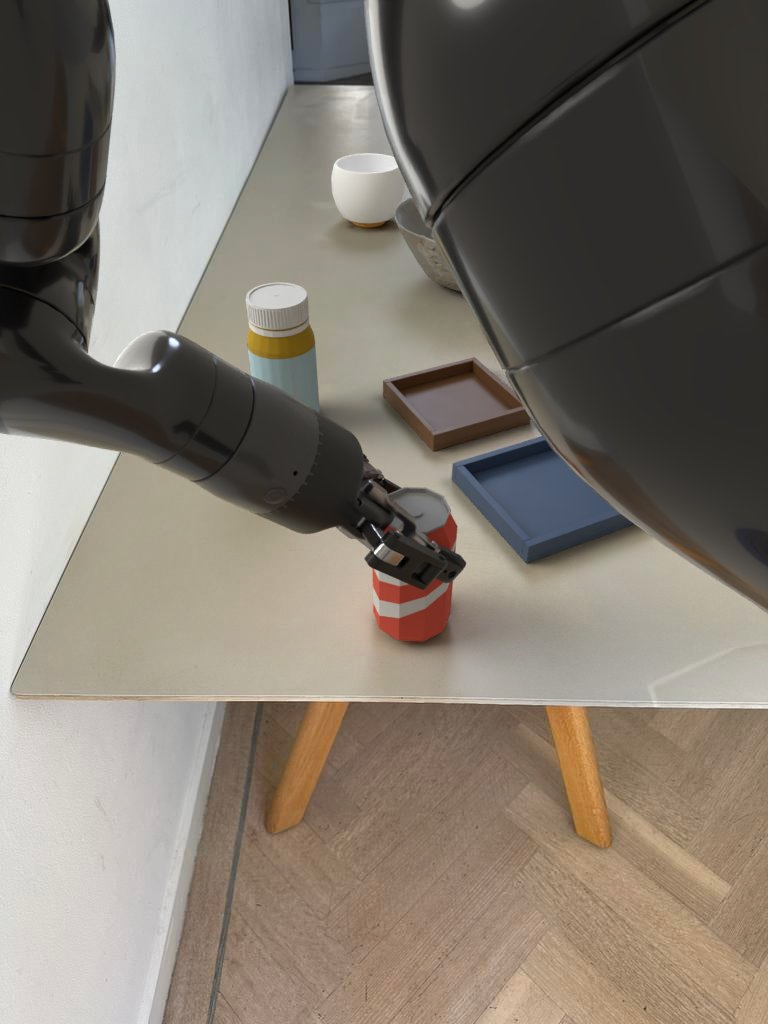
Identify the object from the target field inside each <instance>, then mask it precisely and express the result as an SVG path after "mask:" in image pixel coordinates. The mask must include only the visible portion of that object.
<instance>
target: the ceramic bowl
mask: <svg viewBox="0 0 768 1024" xmlns="http://www.w3.org/2000/svg"><path fill="white" fill-rule="evenodd" d="M394 220H395V222H396V225H397V228H398V229H399V232H400V234H401V236H402V237H403V239H404V241H405V243H406V245H407V247H408V248H409V250H410V252H411V253H412V255H413V257H414V259H415V260H416V262H417V263H418V265H419V266H420V268H421V269H422V270H423V272H424V273H425V275H426V276H427V277H428V278H429V279H430V280H431V281H433V282H434V283H435V284H437V285H440V286H442V287H444V288H448V289H450V290H454V291H455V292H459V293H462V292H461V290H460V288H459V286H458V285H457V283H456V281H455V279H454V277H453V275H452V273H451V271H450V270H449V268H448V266H447V264H446V262H445V260H444V258H443V256H442V254H441V253H440V251H439V249H438V247H437V245H436V243H435V241H434V239H433V238H432V236H431V233H432V229H430V228H428V227H426V225H425V224H424V221H423V219H422V217H421V215H420V213H419V211H418V209H417V207H416V205H415V203H414V201H413V199H412V197H409V198H407V199H406V200H404V201H402V202H401V204H400V205H399V206H398V208H397V210H396V212H395V215H394Z"/></svg>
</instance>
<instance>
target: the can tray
mask: <svg viewBox="0 0 768 1024" xmlns="http://www.w3.org/2000/svg"><path fill="white" fill-rule="evenodd" d="M451 467H452V470H451V480H452V481H453V483H454V484H455V485H456V486H457V487H458V489H460V491H461V492H462V493H463V494H464V496H466V498H468V499H469V501H470V502H471V503H472V504H473V505H474V506H475V508H476V509H477V510H478V511H479V512H480V513H481V515H483V517H484V518H485V519H486V520H487V521H488V523H490V525H492V527H493V528H494V529H495V530H496V531H497V533H499V535H500V536H501V537H502V538H503V539H504V540H505V542H507V544H508V545H509V546H510V547H511V548H512V549H513V551H515V553H516V554H517V555H518V556H519V557H520V558H521V560H522V561H523V562H524V563H525V564H529V563H532V562H534V561H537V560H540V559H543V558H545V557H548V556H550V555H555V554H556V553H560V552H562V551H565V550H568V549H570V548H573V547H575V546H578V545H581V544H583V543H586V542H589V541H592V540H594V539H597V538H600V537H603V536H606V535H608V534H611V533H613V532H617V531H619V530H622V529H624V528H627V527H630V526H633V525H635V524H634V523H633V522H631V521H630V520H628V519H627V518H626V517H624V516H623V515H622V514H620V513H619V512H618V511H616V510H615V509H614V508H613V507H612V506H610V505H609V504H608V503H607V502H605V501H604V500H603V499H602V498H601V497H599V496H598V495H597V494H596V493H595V492H594V491H593V490H591V489H590V488H589V487H588V486H587V485H586V484H585V483H584V482H583V481H582V480H581V479H580V478H579V477H577V476H576V475H575V474H574V473H573V472H572V471H571V470H570V468H569V467H568V466H567V465H566V464H565V463H564V462H563V461H562V460H561V459H560V458H559V456H558V455H557V454H556V453H555V452H554V451H553V450H552V448H551V447H550V446H549V444H548V443H547V442H546V440H545V439H544V437H543V436H542V435H541V436H538V437H534V438H531V439H527V440H524V441H521V442H518V443H515V444H511V445H507V446H503V447H501V448H498V449H495V450H492V451H488V452H485V453H482V454H478V455H474V456H472V457H469V458H465V459H461V460H458V461H456V462H455V461H454V462H452V466H451Z"/></svg>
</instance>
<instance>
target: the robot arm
mask: <svg viewBox="0 0 768 1024" xmlns="http://www.w3.org/2000/svg"><path fill="white" fill-rule="evenodd" d="M362 1H363V3H362V4H363V15H364V29H365V37H366V43H367V52H368V61H369V67H370V71H371V78H372V83H373V89H374V94H375V100H376V103H377V107H378V111H379V115H380V119H381V123H382V126H383V130H384V133H385V136H386V138H387V141H388V144H389V147H390V149H391V152H392V156H393V157H394V158H395V160H396V163H397V165H398V168H399V170H400V172H401V174H402V176H403V179H404V181H405V185H406V188H407V190H408V193H409V194H410V196H411V198H412V199H413V201H414V203H415V205H416V207H417V209H418V211H419V213H420V215H421V217H422V219H423V221H424V224H425V225H426V227H428V228H430V229H432V233H431V236H432V238H433V239H434V241H435V243H436V245H437V247H438V249H439V251H440V253H441V254H442V256H443V258H444V260H445V262H446V264H447V266H448V268H449V270H450V271H451V273H452V275H453V277H454V279H455V281H456V283H457V285H458V286H459V288H460V290H461V292H460V293H461V294H462V296H463V297H464V300H465V301H466V304H467V305H468V308H469V309H470V311H471V313H472V315H473V317H474V318H475V320H476V322H477V324H478V326H479V328H480V330H481V331H482V333H483V335H484V337H485V339H486V341H487V343H488V345H489V347H490V348H491V350H492V352H493V354H494V356H495V358H496V360H497V362H498V363H499V365H500V368H501V369H502V370H504V374H505V378H506V380H507V381H508V383H509V385H510V388H511V389H512V390H513V391H514V392H515V394H516V395H517V397H518V399H519V401H520V402H521V404H522V405H523V407H524V409H525V410H526V412H527V414H528V415H529V417H530V421H531V422H532V423H533V425H534V427H535V428H536V429H537V431H538V433H540V435H541V436H543V437H544V439H545V440H546V442H547V443H548V444H549V446H550V447H551V448H552V450H553V451H554V452H555V453H556V454H557V455H558V456H559V458H560V459H561V460H562V461H563V462H564V463H565V464H566V465H567V466H568V467H569V468H570V470H571V471H572V472H573V473H574V474H575V475H576V476H577V477H579V478H580V479H581V480H582V481H583V482H584V483H585V484H586V485H587V486H588V487H589V488H590V489H591V490H593V491H594V492H595V493H596V494H597V495H598V496H599V497H601V498H602V499H603V500H604V501H605V502H607V503H608V504H609V505H610V506H612V507H613V508H614V509H615V510H616V511H618V512H619V513H620V514H622V515H623V516H624V517H626V518H627V519H628V520H630V521H631V522H633V523H634V524H633V525H635V526H637V527H638V528H639V529H641V530H642V531H643V532H645V533H646V534H648V535H649V536H650V537H652V538H653V539H655V540H656V541H657V542H658V543H659V544H661V545H663V546H664V547H666V548H667V549H669V550H670V551H672V552H673V553H674V554H676V555H678V556H679V557H680V558H682V559H684V561H685V560H686V561H687V562H688V563H690V564H691V565H693V566H694V567H695V568H697V569H699V570H701V571H702V572H703V573H705V574H706V575H709V576H710V577H711V578H713V579H714V580H715V581H718V582H719V583H720V584H722V585H724V586H726V587H727V588H728V589H730V590H731V591H733V592H734V593H737V594H738V595H740V596H741V597H742V598H744V599H745V600H748V601H749V602H750V603H752V604H753V605H754V606H756V607H757V608H759V609H760V610H761V611H763V612H764V613H765V614H767V615H768V0H362ZM116 50H117V49H116V38H115V29H114V24H113V19H112V13H111V7H110V1H109V0H0V434H1V435H6V436H13V437H21V438H27V439H28V438H29V439H36V440H43V441H44V440H45V441H52V442H60V443H66V444H71V445H77V446H83V447H87V448H93V449H99V450H105V451H110V452H111V451H112V452H118V453H122V454H127V455H130V456H133V457H136V458H138V459H140V460H143V461H145V462H146V463H149V464H151V465H153V466H156V467H158V468H160V469H162V470H165V471H167V472H169V473H171V474H174V475H176V476H178V477H180V478H183V479H184V480H187V481H190V482H192V483H194V484H195V485H197V486H199V488H201V489H203V490H204V491H206V492H208V493H209V494H210V495H213V496H214V497H216V498H218V499H220V500H222V501H223V502H226V503H230V504H231V505H233V506H236V507H237V508H240V509H242V510H245V511H247V512H249V513H252V514H254V515H255V516H258V517H261V518H263V519H265V520H267V521H270V522H271V523H274V524H276V525H279V526H281V527H283V528H285V529H288V530H290V531H292V532H295V533H298V534H301V535H313V534H317V533H321V532H323V531H326V530H330V529H332V528H336V529H337V530H338V531H339V532H341V533H342V534H343V535H344V536H346V537H347V538H348V539H351V540H357V542H359V543H361V544H362V545H363V546H365V547H366V548H367V549H368V550H370V551H368V553H367V554H366V555H365V556H364V559H363V560H364V561H365V563H366V564H367V566H368V567H370V568H371V569H372V568H373V569H375V570H377V571H380V572H382V573H384V574H387V575H389V576H391V577H393V578H396V579H398V580H400V581H403V582H405V583H407V584H410V585H412V586H414V587H416V588H419V589H421V590H425V589H426V588H427V587H428V586H429V585H430V584H431V583H432V582H433V581H434V579H438V580H440V581H442V582H444V583H452V581H453V582H454V581H455V580H456V578H457V577H458V576H459V575H460V574H461V573H462V572H463V571H464V570H465V568H466V566H467V562H466V560H465V559H464V558H463V556H462V555H460V554H459V553H457V552H456V551H455V552H453V551H451V550H449V549H447V548H445V547H443V546H442V545H440V544H438V543H437V542H435V541H434V540H431V539H430V538H429V537H427V536H426V535H425V534H424V533H422V532H421V531H420V530H419V529H417V523H416V519H415V517H414V516H412V515H411V514H410V513H408V512H407V511H406V510H405V509H403V508H402V507H401V506H400V505H398V504H397V503H396V502H395V501H393V500H392V499H391V498H389V497H388V494H390V493H392V492H394V491H397V490H399V489H401V488H402V487H401V486H400V485H397V484H396V483H394V482H393V481H390V480H389V479H387V478H385V475H384V474H383V472H382V470H380V469H379V468H377V467H374V466H373V465H372V464H371V463H370V460H369V458H368V456H367V455H366V454H365V453H364V451H363V448H362V445H361V443H360V441H359V439H358V438H357V437H356V435H355V434H354V433H352V431H350V430H349V429H347V428H345V427H344V426H342V425H340V424H339V423H337V421H335V420H333V419H331V418H329V417H328V416H327V415H324V414H322V413H321V412H320V413H319V412H318V411H316V410H314V409H313V408H311V407H309V406H308V405H306V404H304V403H303V402H301V401H299V400H298V399H296V398H295V397H293V396H291V395H290V394H288V393H286V392H285V391H283V390H281V389H280V388H278V387H276V386H274V385H272V384H270V383H267V382H265V381H263V380H260V379H258V378H255V377H253V376H251V374H250V373H247V372H245V371H243V370H241V369H240V368H238V367H237V366H235V365H233V364H231V363H230V362H229V361H226V360H225V359H223V358H222V357H221V356H218V355H217V354H215V353H213V352H212V351H210V350H208V349H207V348H205V347H204V346H201V345H200V344H198V343H197V342H195V341H194V340H191V339H189V338H188V337H186V336H184V335H181V334H179V333H177V332H173V331H171V330H166V329H153V330H149V331H145V332H143V333H142V334H140V335H138V336H137V337H135V338H134V339H133V340H132V341H130V342H129V343H128V344H127V345H126V347H125V348H123V350H122V352H121V353H120V354H119V355H118V356H117V359H116V360H115V362H114V363H113V365H112V366H111V365H107V364H104V363H102V362H100V361H99V360H97V359H95V358H94V357H92V356H91V355H90V354H88V353H89V349H90V342H91V338H92V337H91V336H92V331H93V323H94V318H95V311H96V307H97V306H96V305H97V299H98V291H99V279H100V266H101V265H100V264H101V225H100V223H101V222H100V214H101V209H102V206H103V202H104V197H105V191H106V183H107V176H108V165H109V155H110V145H111V135H112V134H111V133H112V126H113V125H112V124H113V114H114V108H115V107H114V106H115V95H116V83H117V51H116ZM394 516H395V517H397V518H398V519H399V520H401V521H402V524H401V526H400V527H399V528H398V529H397V530H396V531H393V530H391V529H389V530H388V531H387V532H386V533H384V531H385V530H386V529H387V528H388V526H389V525H390V524H391V523H392V522H393V520H394ZM409 538H413V539H414V540H416V541H417V542H418V543H417V542H415V541H413V540H411V539H409ZM373 569H372V570H373Z"/></svg>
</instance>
